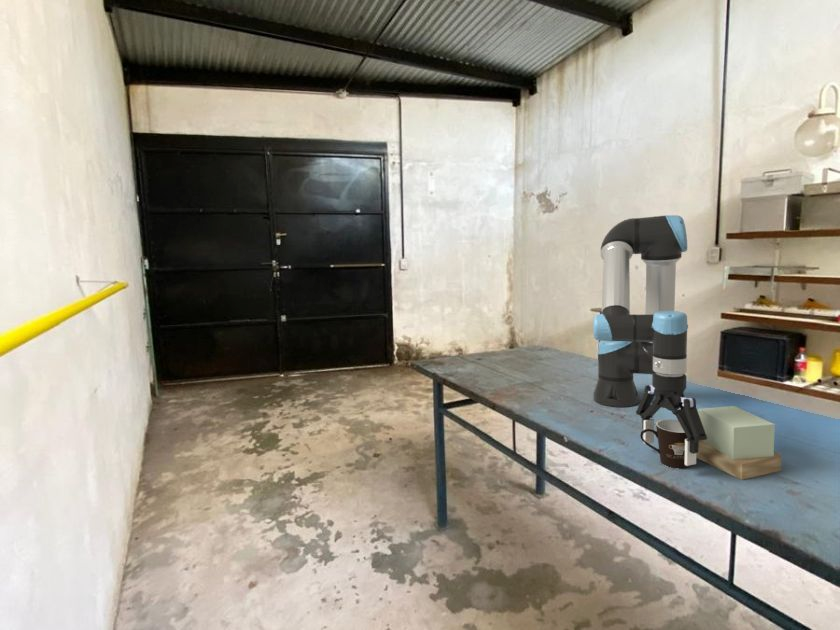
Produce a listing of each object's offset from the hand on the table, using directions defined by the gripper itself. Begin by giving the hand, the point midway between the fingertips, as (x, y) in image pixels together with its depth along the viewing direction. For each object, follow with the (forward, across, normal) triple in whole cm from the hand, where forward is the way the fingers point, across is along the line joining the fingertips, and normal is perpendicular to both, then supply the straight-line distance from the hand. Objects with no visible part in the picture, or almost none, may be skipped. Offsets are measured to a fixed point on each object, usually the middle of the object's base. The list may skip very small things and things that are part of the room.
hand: (668, 453), depth 116 cm
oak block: (+2, +6, +14) cm, 15 cm away
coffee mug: (+3, 0, 0) cm, 3 cm away
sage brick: (-2, +6, +14) cm, 16 cm away
